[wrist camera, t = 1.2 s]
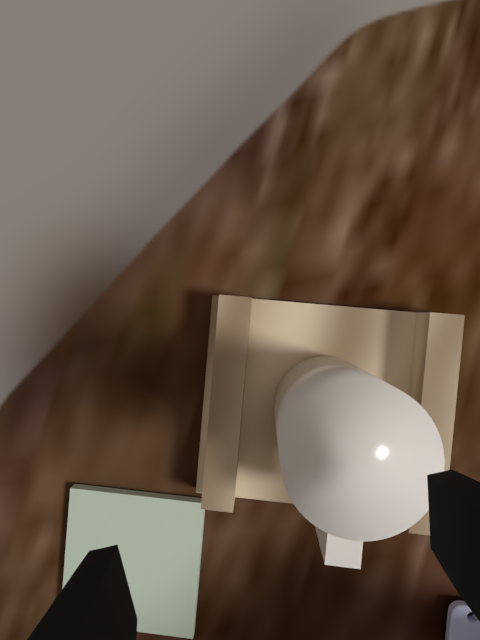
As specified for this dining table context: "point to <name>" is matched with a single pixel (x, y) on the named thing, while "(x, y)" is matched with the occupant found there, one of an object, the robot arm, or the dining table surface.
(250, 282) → the dining table surface
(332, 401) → the white domed cylinder
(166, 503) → the mat
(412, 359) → the cradle
